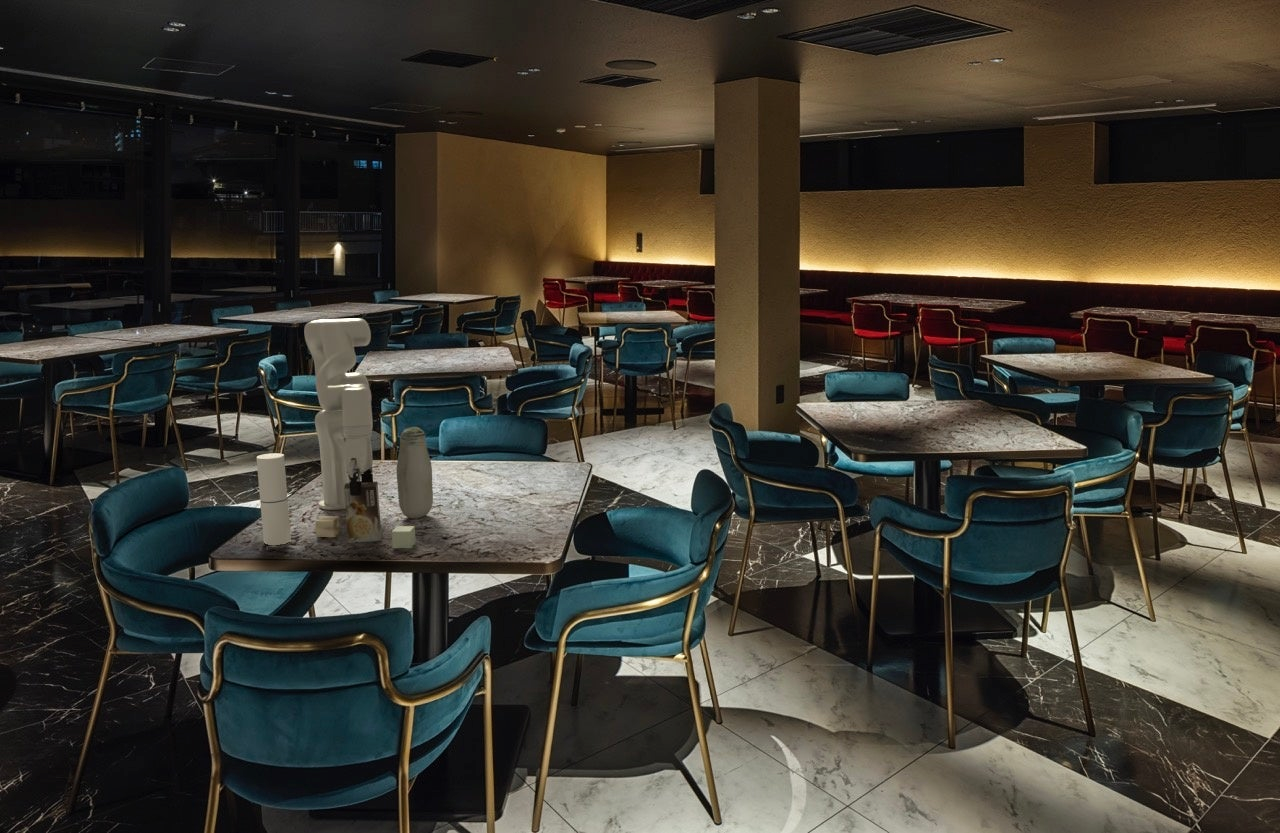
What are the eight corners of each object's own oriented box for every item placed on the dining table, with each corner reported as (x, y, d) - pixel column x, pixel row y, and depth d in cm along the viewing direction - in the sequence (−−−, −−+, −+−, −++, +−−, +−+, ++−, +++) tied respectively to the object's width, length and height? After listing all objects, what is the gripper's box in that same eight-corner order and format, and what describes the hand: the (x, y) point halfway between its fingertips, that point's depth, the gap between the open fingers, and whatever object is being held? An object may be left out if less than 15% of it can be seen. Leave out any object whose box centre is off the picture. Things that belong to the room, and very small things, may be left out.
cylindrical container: (267, 548, 260) (260, 460, 255) (260, 541, 265) (253, 455, 261) (294, 543, 264) (287, 456, 260) (286, 537, 270) (279, 452, 265)
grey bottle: (425, 522, 282) (420, 431, 277) (394, 521, 284) (388, 430, 279) (439, 513, 292) (434, 425, 287) (408, 512, 294) (403, 424, 289)
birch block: (323, 532, 274) (321, 516, 273) (340, 532, 274) (338, 516, 273) (316, 538, 269) (315, 521, 268) (333, 537, 269) (332, 521, 268)
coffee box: (382, 534, 271) (379, 480, 268) (380, 541, 265) (377, 486, 262) (349, 537, 269) (345, 482, 266) (347, 543, 263) (343, 488, 260)
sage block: (397, 543, 263) (396, 526, 262) (415, 543, 263) (414, 526, 262) (392, 548, 258) (391, 531, 257) (410, 548, 258) (409, 531, 257)
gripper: (355, 426, 270) (359, 484, 273) (333, 437, 253) (338, 498, 255) (380, 425, 270) (384, 484, 272) (361, 436, 253) (365, 498, 255)
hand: (362, 491), depth 264 cm, fingers open, 9 cm apart
